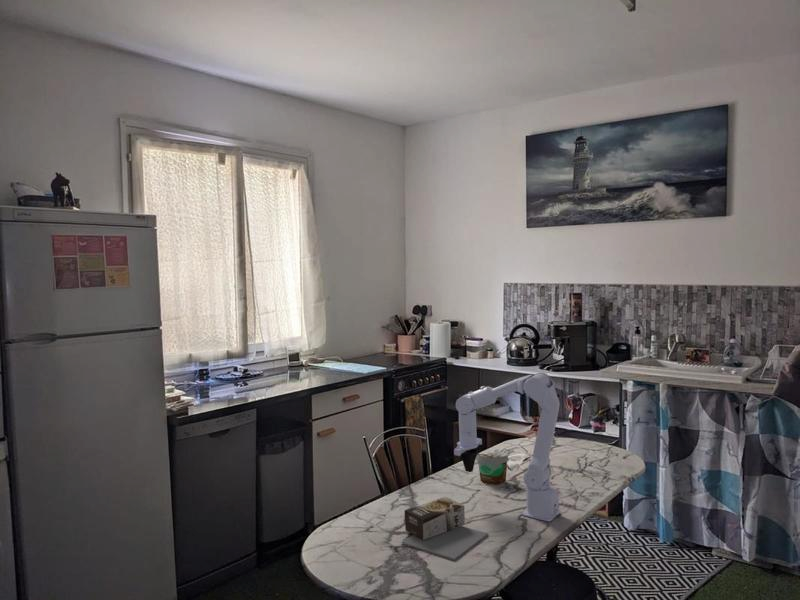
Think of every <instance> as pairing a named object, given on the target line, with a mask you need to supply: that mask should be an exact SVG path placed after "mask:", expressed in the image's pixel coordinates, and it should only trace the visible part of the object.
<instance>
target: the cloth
mask: <svg viewBox="0 0 800 600" xmlns="http://www.w3.org/2000/svg"><path fill="white" fill-rule="evenodd" d="M528 454H529V453H528V452H521V453H519V454H518V453H516V454H512V455H508V458H513V459H518V460H520V461H516V462H513V461H510V460H511V459H510V460H509V461H507V467H508V468H509V470H511V471H514V470H515V469H514V468H516V469H517V467H518V466H520V463H523V464H524V461H525V460H526V459H528V458H531V456H530V455H528ZM518 468H519V467H518ZM513 469H514V470H513Z"/></svg>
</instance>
